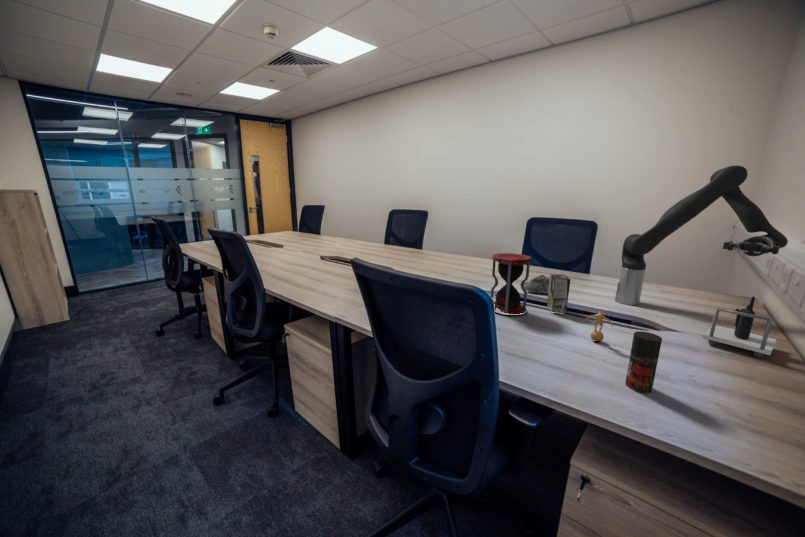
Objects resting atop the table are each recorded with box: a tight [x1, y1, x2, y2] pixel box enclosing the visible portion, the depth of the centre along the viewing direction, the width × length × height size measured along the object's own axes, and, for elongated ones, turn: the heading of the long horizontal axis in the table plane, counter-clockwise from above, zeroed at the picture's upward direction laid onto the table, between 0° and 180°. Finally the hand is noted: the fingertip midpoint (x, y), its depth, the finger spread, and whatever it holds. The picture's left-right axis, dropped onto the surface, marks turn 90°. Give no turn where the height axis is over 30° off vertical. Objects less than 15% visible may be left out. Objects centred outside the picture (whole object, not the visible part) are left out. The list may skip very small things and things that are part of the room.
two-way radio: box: [734, 296, 756, 339], centre depth 110 cm, size 6×4×15 cm
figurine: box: [585, 311, 614, 342], centre depth 113 cm, size 8×6×12 cm
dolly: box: [702, 307, 777, 358], centre depth 110 cm, size 16×15×14 cm
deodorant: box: [624, 331, 663, 394], centre depth 86 cm, size 6×6×15 cm
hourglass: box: [490, 252, 532, 314], centre depth 144 cm, size 16×16×25 cm
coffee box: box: [546, 273, 571, 314], centre depth 144 cm, size 9×6×16 cm
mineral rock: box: [524, 274, 550, 295], centre depth 173 cm, size 13×11×10 cm
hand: (745, 249), depth 118 cm, fingers open, 8 cm apart
